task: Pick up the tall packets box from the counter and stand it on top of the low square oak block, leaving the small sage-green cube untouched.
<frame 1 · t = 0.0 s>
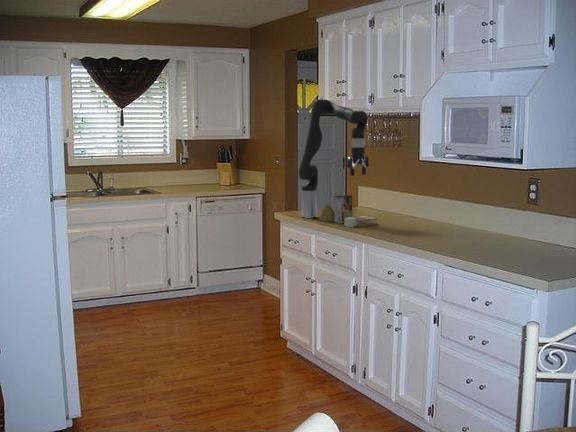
hand: (358, 175, 380), 29 cm above the counter, tool pointing down, fingers open, 8 cm apart
coffee box: (343, 222, 397), on the counter
sage cube: (350, 226, 382), on the counter
oak block: (362, 224, 390), on the counter
rock: (327, 221, 404), on the counter
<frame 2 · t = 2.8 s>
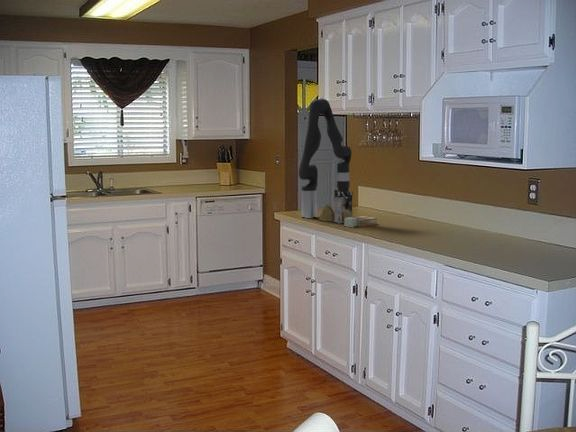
hand: (343, 207, 396), 9 cm above the counter, tool pointing down, fingers closed on coffee box, 6 cm apart
coffee box: (343, 222, 397), on the counter, touching gripper
everything else where it was.
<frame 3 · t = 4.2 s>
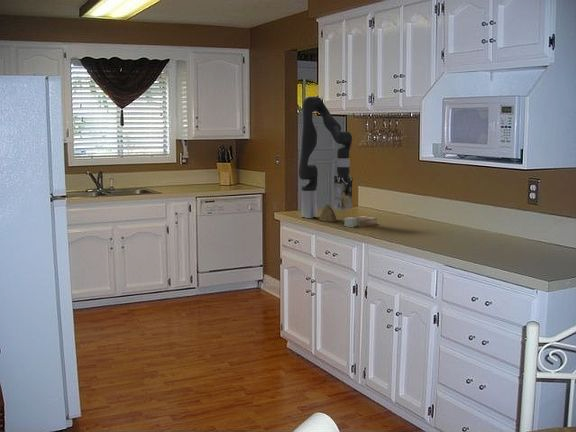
hand: (343, 193, 395), 17 cm above the counter, tool pointing down, fingers closed on coffee box, 6 cm apart
coffee box: (343, 208, 396), point 8 cm above the counter, touching gripper
everything else where it was.
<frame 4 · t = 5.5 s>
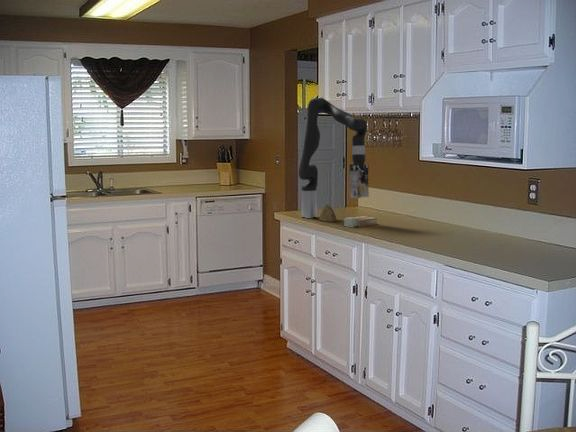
hand: (359, 182, 387), 25 cm above the counter, tool pointing down, fingers closed on coffee box, 6 cm apart
coffee box: (359, 197, 388), point 16 cm above the counter, touching gripper
everything else where it was.
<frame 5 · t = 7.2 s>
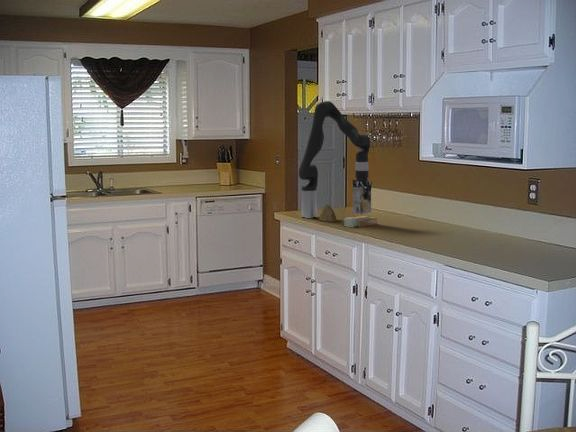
hand: (362, 198, 388), 15 cm above the counter, tool pointing down, fingers closed on coffee box, 6 cm apart
coffee box: (362, 213, 389), point 6 cm above the counter, touching gripper
everything else where it was.
when the fingers open (14 cm above the counter, at t = 8.5 s): coffee box drops 2 cm, resting on oak block.
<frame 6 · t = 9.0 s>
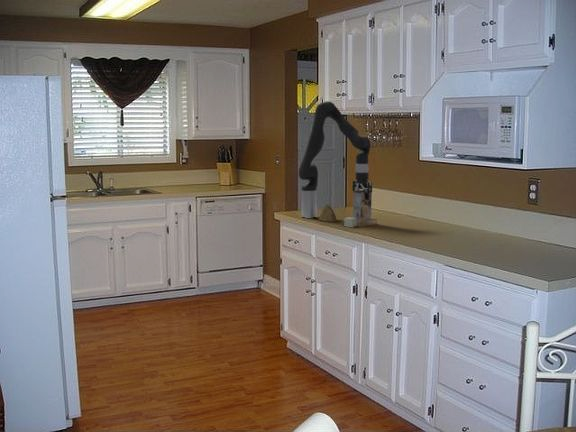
hand: (362, 199, 388), 15 cm above the counter, tool pointing down, fingers open, 8 cm apart
coffee box: (361, 218, 390), point 3 cm above the counter, touching gripper, oak block
oak block: (362, 225, 390), on the counter, touching coffee box
everything else where it was.
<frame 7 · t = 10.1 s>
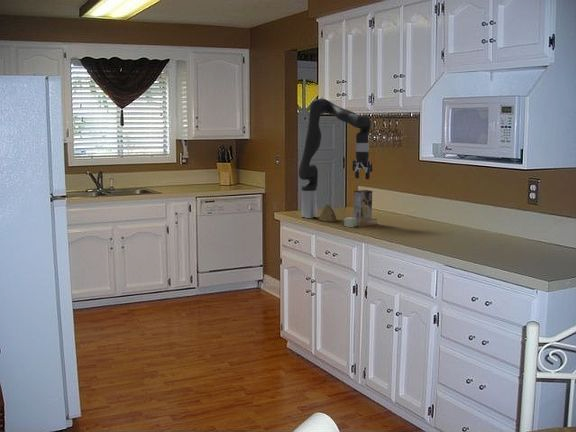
hand: (362, 178, 386), 27 cm above the counter, tool pointing down, fingers open, 8 cm apart
coffee box: (362, 218, 390), point 3 cm above the counter, touching oak block
everything else where it was.
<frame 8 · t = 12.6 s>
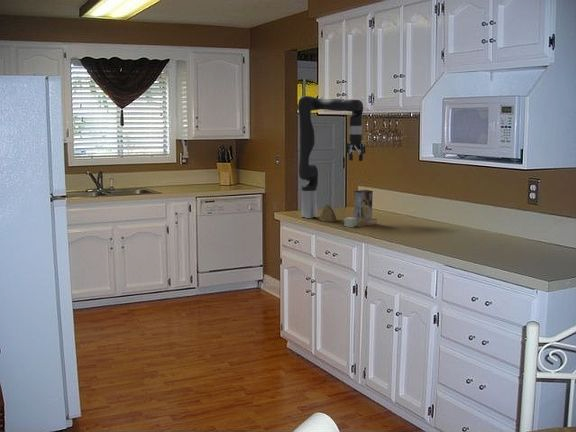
hand: (355, 160, 401), 36 cm above the counter, tool pointing down, fingers open, 8 cm apart
nothing on the counter moved.
at the end: coffee box inside the target area on the oak block (0.4 cm from its centre), point 4.0 cm above the oak block's base; coffee box tilted 4°; the gripper is holding nothing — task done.
